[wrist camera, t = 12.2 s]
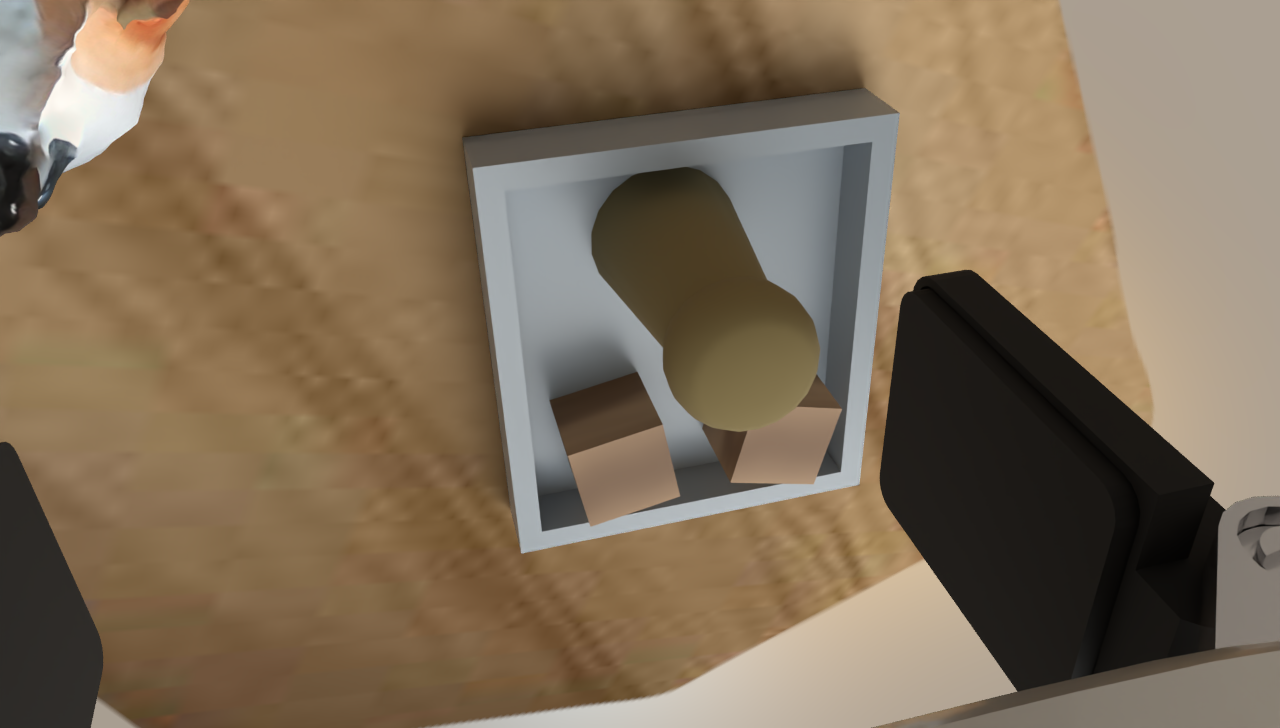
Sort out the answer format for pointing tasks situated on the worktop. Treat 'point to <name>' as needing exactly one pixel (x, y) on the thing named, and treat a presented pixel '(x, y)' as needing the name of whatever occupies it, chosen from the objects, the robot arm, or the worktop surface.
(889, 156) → the tray
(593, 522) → the walnut block
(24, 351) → the worktop surface
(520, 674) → the worktop surface
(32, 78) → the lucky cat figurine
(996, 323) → the robot arm
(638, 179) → the cork
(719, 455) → the walnut block
